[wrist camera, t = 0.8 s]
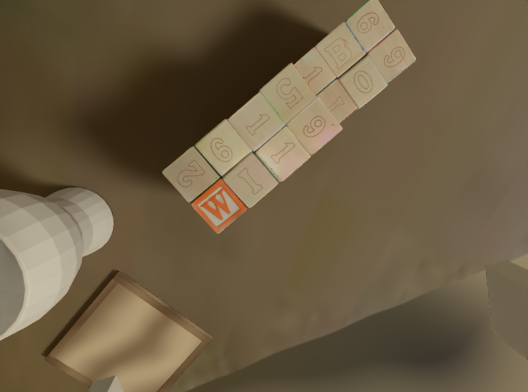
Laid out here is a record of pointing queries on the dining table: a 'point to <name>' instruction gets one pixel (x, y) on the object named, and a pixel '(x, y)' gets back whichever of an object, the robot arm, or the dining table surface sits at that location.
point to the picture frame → (129, 340)
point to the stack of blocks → (290, 117)
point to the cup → (45, 249)
